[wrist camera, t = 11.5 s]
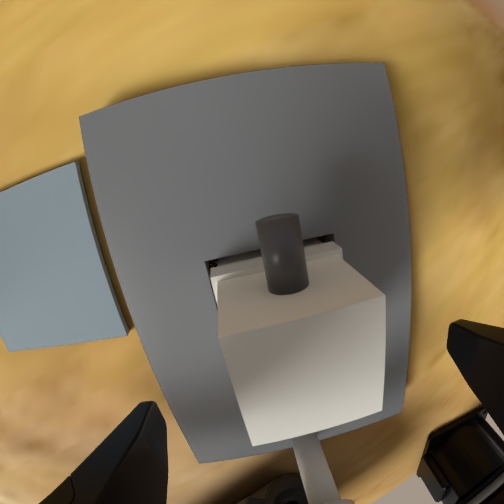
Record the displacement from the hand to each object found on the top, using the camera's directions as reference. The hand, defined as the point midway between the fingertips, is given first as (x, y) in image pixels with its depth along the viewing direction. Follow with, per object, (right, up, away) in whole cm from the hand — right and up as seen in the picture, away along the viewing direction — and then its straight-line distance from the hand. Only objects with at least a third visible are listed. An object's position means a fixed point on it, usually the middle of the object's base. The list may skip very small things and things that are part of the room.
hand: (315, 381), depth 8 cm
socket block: (-1, +2, +6) cm, 6 cm away
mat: (-12, +3, +4) cm, 13 cm away
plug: (-1, +2, +6) cm, 6 cm away
